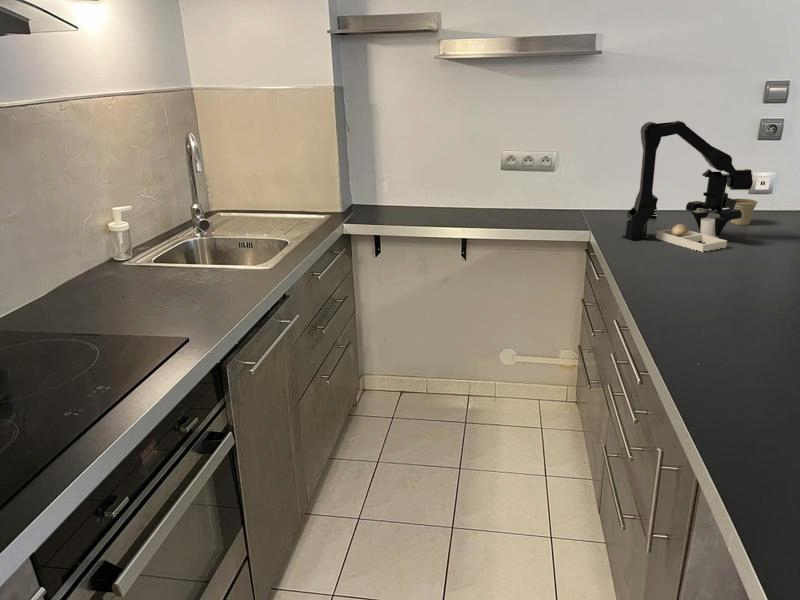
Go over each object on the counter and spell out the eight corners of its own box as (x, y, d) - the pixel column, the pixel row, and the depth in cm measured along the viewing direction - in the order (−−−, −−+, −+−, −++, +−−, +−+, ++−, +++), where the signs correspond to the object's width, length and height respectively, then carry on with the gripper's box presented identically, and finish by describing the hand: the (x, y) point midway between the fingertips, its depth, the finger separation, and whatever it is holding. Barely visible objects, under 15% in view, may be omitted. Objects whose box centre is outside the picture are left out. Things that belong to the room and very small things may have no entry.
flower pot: (759, 226, 229) (763, 203, 226) (733, 226, 229) (737, 203, 226) (746, 220, 238) (749, 198, 235) (721, 221, 238) (725, 198, 235)
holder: (702, 252, 200) (703, 245, 200) (655, 238, 218) (656, 231, 217) (726, 248, 204) (727, 240, 203) (678, 234, 222) (679, 227, 221)
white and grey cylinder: (717, 242, 211) (720, 222, 209) (695, 239, 215) (698, 219, 212) (721, 237, 216) (724, 218, 214) (700, 235, 220) (703, 216, 218)
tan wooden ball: (678, 242, 212) (680, 226, 210) (666, 238, 217) (668, 223, 215) (690, 240, 214) (693, 224, 212) (678, 236, 219) (680, 221, 217)
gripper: (757, 191, 204) (749, 237, 210) (711, 183, 220) (704, 226, 226) (732, 195, 200) (725, 241, 206) (687, 186, 216) (681, 229, 222)
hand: (709, 234), depth 215 cm, fingers closed on white and grey cylinder, 6 cm apart
